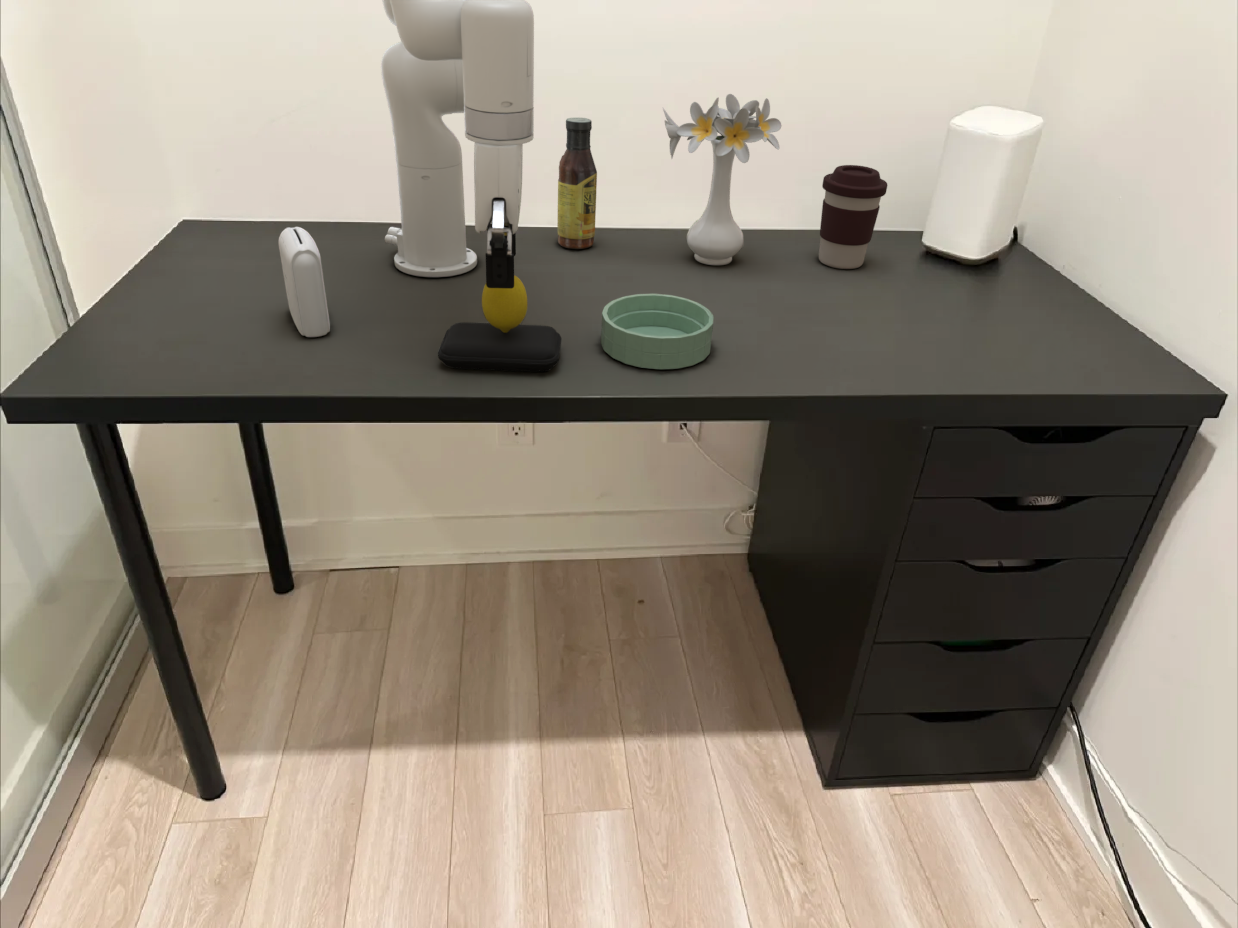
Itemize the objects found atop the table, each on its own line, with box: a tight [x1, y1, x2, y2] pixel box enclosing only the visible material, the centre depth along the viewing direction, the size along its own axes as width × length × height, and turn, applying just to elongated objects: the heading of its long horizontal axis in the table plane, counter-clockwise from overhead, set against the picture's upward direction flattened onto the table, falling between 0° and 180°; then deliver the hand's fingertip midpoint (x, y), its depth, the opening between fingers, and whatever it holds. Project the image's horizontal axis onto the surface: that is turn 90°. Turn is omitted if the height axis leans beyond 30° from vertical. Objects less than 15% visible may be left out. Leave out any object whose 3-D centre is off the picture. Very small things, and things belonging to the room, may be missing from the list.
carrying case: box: [437, 321, 562, 373], centre depth 111 cm, size 11×3×15 cm
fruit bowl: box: [600, 293, 715, 370], centre depth 115 cm, size 14×14×4 cm
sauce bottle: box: [556, 117, 598, 250], centre depth 143 cm, size 7×6×20 cm
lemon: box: [481, 274, 528, 333], centre depth 108 cm, size 6×6×8 cm
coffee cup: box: [818, 164, 888, 270], centre depth 143 cm, size 10×10×15 cm
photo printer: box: [277, 226, 331, 338], centre depth 114 cm, size 10×4×12 cm, turn 26°
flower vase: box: [662, 93, 783, 266], centre depth 138 cm, size 13×18×25 cm
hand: (501, 270), depth 107 cm, fingers open, 9 cm apart
